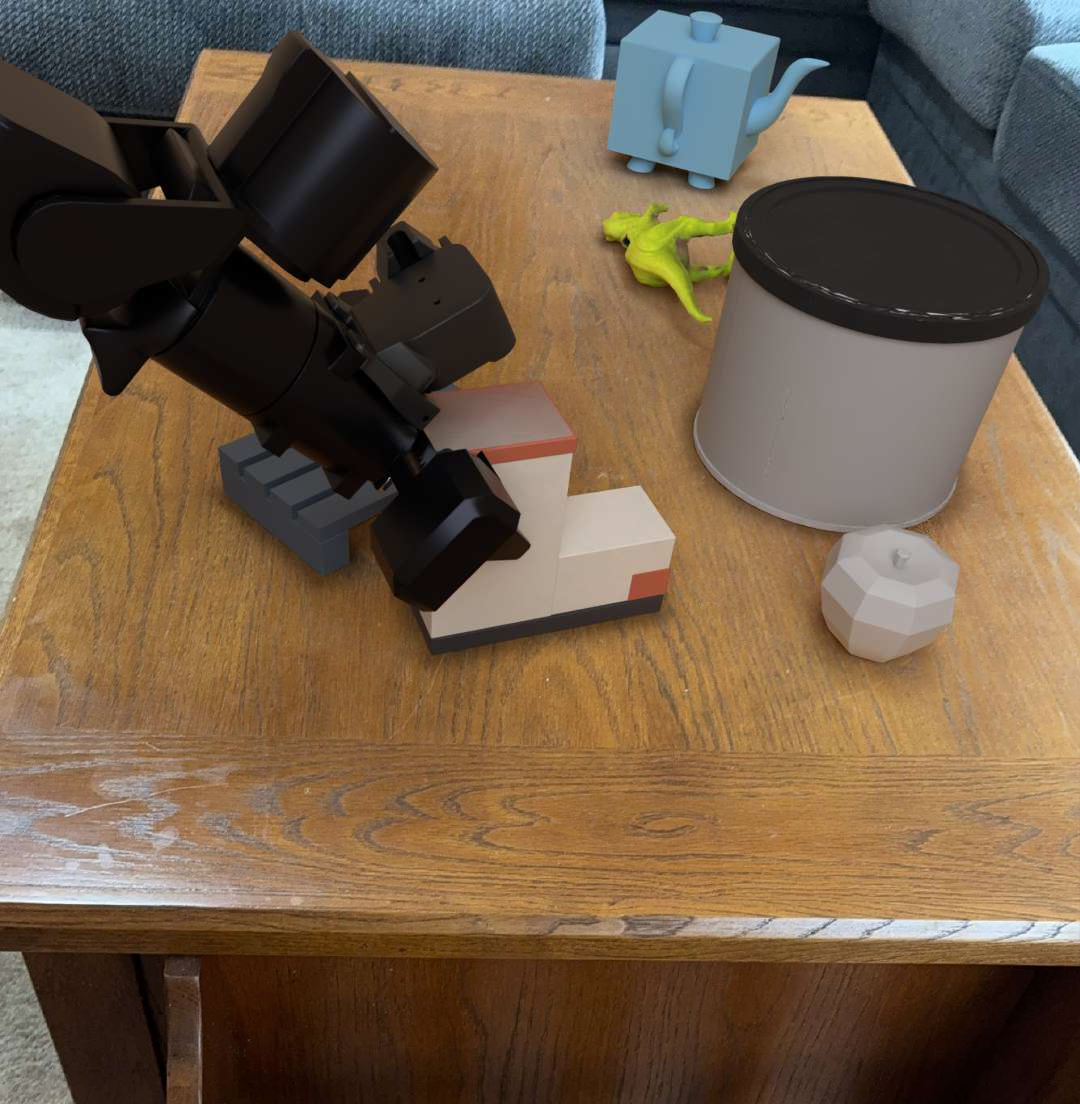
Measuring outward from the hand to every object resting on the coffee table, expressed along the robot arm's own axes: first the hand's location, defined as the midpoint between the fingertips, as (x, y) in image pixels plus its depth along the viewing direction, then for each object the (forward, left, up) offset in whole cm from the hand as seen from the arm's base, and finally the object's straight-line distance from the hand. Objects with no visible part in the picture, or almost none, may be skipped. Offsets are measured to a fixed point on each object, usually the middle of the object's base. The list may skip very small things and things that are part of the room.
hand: (502, 515), depth 58 cm
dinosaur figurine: (+7, +43, -7) cm, 44 cm away
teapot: (+10, +68, -7) cm, 69 cm away
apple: (+22, +3, -7) cm, 23 cm away
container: (+20, +22, -7) cm, 30 cm away
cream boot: (+2, +2, -7) cm, 8 cm away
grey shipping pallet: (-9, +10, -7) cm, 15 cm away
